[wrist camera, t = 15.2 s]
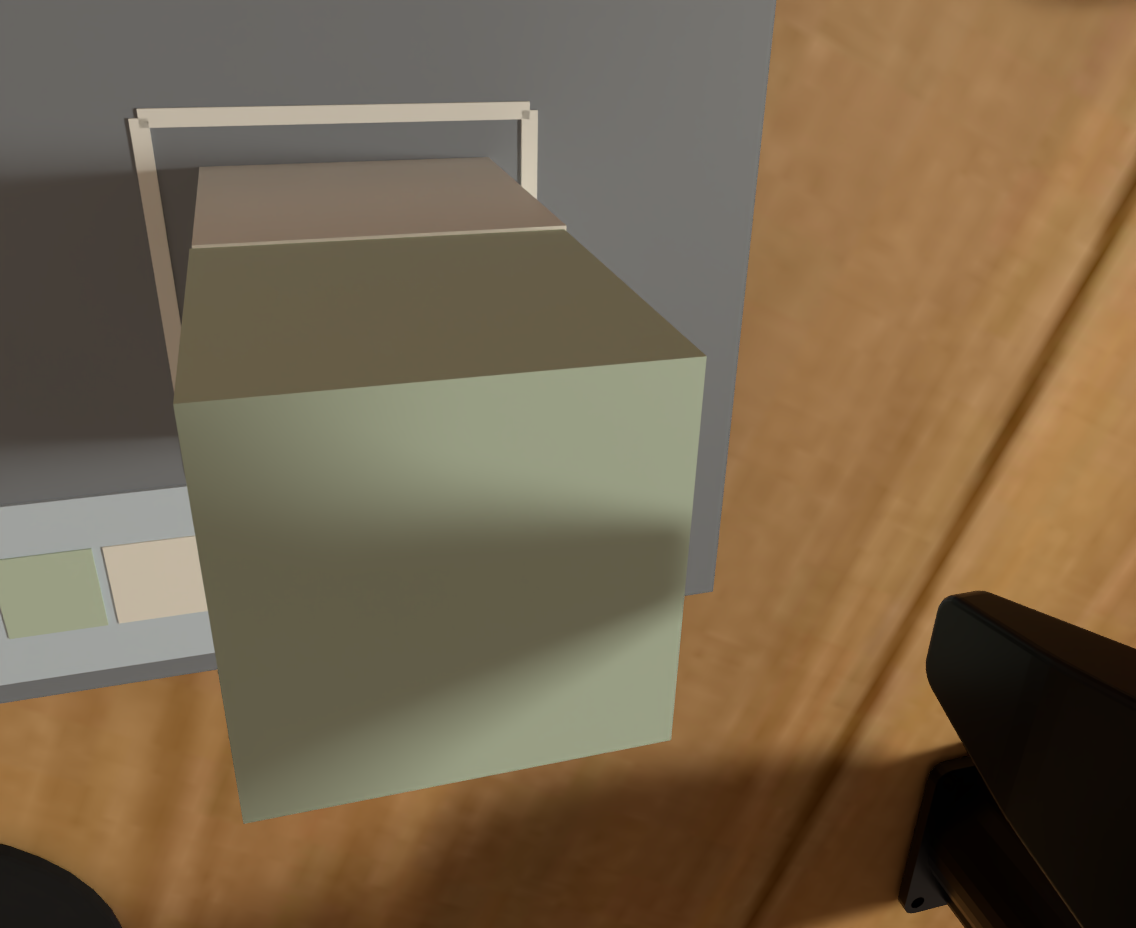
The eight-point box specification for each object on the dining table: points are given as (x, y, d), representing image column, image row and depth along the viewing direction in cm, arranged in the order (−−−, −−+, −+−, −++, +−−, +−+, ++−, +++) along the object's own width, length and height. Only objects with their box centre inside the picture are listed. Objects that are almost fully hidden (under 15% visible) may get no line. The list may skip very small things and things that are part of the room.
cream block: (491, 407, 21) (560, 530, 17) (237, 432, 20) (240, 573, 15) (488, 157, 19) (566, 226, 14) (199, 167, 17) (191, 245, 13)
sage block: (557, 532, 17) (671, 740, 12) (237, 575, 15) (242, 823, 11) (564, 229, 14) (705, 356, 10) (189, 248, 13) (173, 403, 9)
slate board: (693, 565, 26) (715, 594, 25) (-4, 669, 22) (-17, 709, 21) (764, -177, 19) (799, -184, 17) (-273, -239, 14) (-314, -253, 13)
